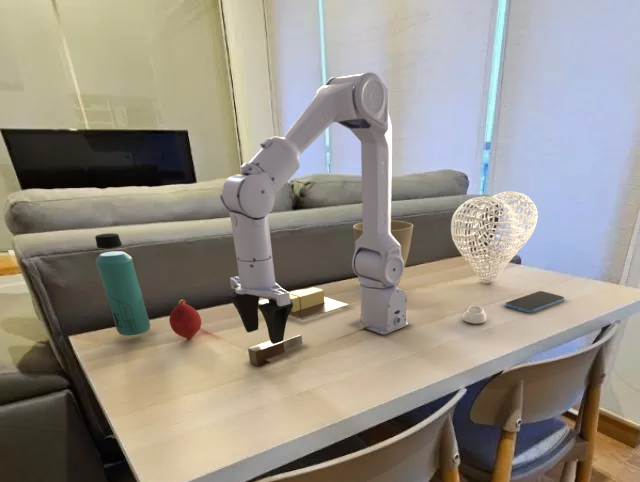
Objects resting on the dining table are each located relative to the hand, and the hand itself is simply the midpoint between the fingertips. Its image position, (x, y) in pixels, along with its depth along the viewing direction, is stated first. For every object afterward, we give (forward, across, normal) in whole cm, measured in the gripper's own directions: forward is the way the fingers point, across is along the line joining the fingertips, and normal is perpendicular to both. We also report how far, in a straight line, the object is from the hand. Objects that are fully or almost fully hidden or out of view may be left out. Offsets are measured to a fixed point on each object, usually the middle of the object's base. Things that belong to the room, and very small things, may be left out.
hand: (264, 336), depth 81 cm
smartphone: (+4, +20, +63) cm, 66 cm away
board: (+5, -19, +23) cm, 30 cm away
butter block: (+4, -17, +24) cm, 29 cm away
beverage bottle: (+5, -29, -12) cm, 32 cm away
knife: (+5, 0, +3) cm, 6 cm away
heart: (+5, +2, +71) cm, 71 cm away
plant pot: (+5, -15, +47) cm, 50 cm away
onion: (+5, -20, -5) cm, 21 cm away
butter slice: (+4, -17, +19) cm, 26 cm away
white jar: (+5, +16, +43) cm, 46 cm away
